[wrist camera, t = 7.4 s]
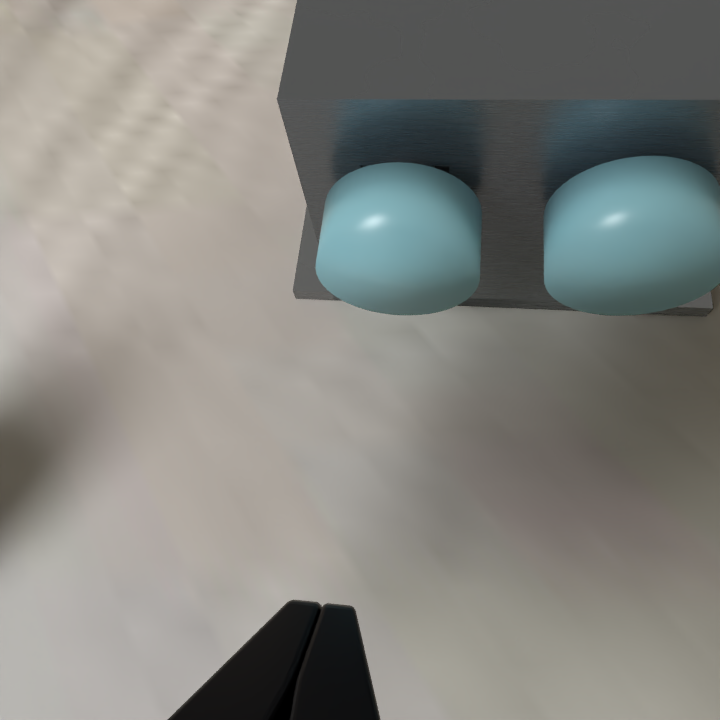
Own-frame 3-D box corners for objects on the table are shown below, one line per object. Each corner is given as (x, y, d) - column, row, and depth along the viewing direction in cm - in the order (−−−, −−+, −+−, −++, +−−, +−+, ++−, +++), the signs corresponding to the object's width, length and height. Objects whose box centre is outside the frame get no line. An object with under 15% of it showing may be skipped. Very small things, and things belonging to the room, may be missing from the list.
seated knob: (690, 318, 18) (765, 227, 14) (532, 312, 19) (560, 222, 15) (667, 110, 21) (723, -13, 17) (532, 109, 22) (555, -10, 18)
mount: (706, 316, 23) (891, 100, 14) (295, 298, 25) (217, 99, 16) (684, 141, 26) (823, -131, 17) (322, 137, 28) (269, -107, 19)
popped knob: (474, 318, 19) (486, 231, 15) (328, 311, 19) (301, 226, 15) (482, 116, 22) (493, -1, 18) (355, 115, 22) (339, 2, 18)
